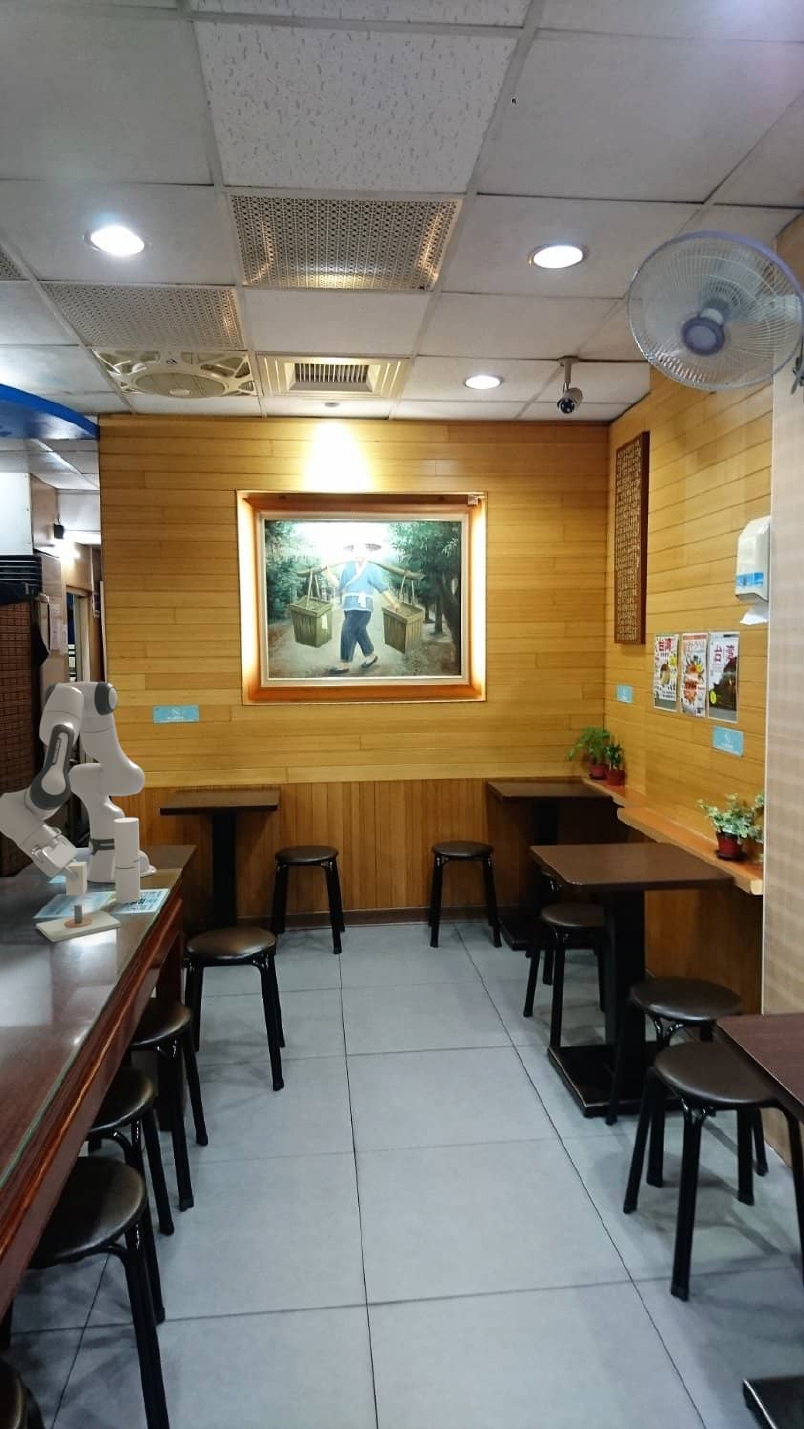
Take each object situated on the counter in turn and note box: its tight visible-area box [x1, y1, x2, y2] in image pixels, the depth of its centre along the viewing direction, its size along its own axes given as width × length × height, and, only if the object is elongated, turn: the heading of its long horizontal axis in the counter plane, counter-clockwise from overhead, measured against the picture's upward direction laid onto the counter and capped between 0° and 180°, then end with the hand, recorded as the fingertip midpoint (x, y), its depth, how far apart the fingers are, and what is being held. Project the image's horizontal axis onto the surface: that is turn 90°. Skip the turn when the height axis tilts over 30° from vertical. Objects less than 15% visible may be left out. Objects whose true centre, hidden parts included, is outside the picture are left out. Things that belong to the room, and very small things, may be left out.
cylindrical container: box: [114, 817, 141, 904], centre depth 238 cm, size 7×7×25 cm
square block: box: [65, 861, 88, 896], centre depth 214 cm, size 4×4×8 cm
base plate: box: [35, 904, 122, 943], centre depth 215 cm, size 18×14×6 cm
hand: (79, 876), depth 214 cm, fingers closed on square block, 4 cm apart
